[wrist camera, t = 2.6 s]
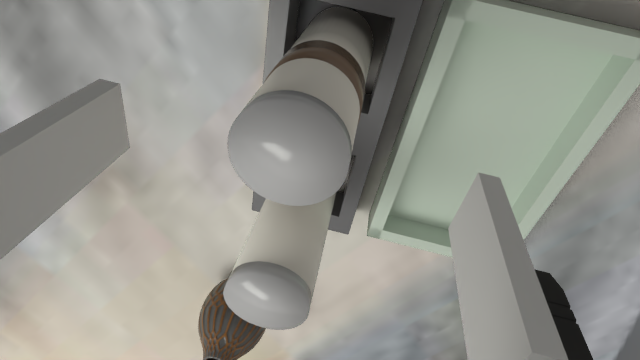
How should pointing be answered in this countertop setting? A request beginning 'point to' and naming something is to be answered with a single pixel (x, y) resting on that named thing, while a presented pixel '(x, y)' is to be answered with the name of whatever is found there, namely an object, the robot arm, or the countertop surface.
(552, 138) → the tray
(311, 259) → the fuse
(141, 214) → the countertop surface
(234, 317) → the vase
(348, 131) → the cylinder
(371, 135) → the fuse block
